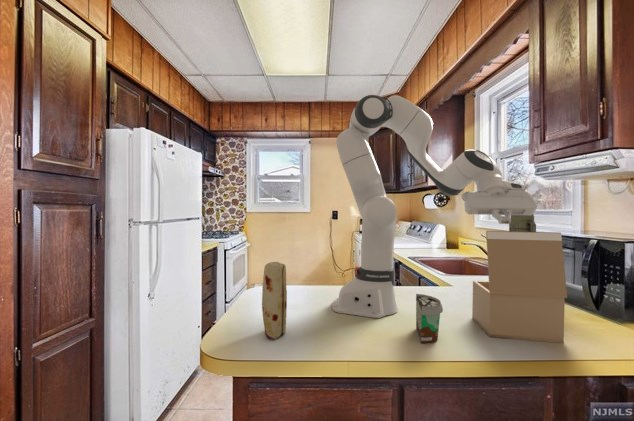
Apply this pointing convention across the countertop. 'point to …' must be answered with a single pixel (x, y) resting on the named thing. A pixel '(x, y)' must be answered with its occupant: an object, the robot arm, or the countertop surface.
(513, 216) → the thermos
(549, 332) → the carton
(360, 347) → the countertop surface
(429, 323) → the food container
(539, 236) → the flap
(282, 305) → the food model
